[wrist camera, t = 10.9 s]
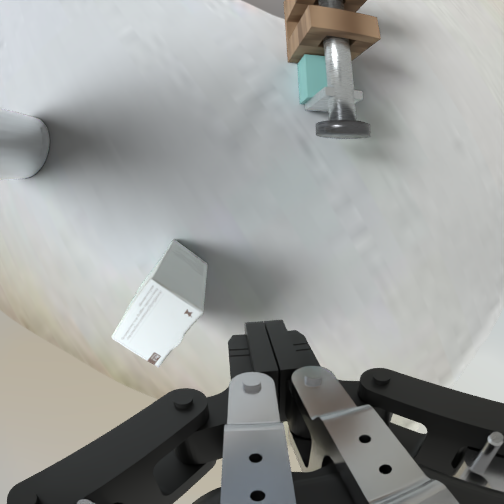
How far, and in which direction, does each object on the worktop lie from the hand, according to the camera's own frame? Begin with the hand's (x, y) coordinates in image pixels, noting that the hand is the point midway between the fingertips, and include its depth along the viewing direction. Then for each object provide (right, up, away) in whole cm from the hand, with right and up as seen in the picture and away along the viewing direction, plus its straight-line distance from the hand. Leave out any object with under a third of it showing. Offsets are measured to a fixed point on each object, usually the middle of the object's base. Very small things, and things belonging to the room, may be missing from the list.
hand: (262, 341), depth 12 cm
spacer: (+8, +26, +25) cm, 37 cm away
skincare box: (-11, +1, +29) cm, 31 cm away
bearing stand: (+8, +34, +23) cm, 42 cm away
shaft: (+9, +28, +23) cm, 37 cm away
